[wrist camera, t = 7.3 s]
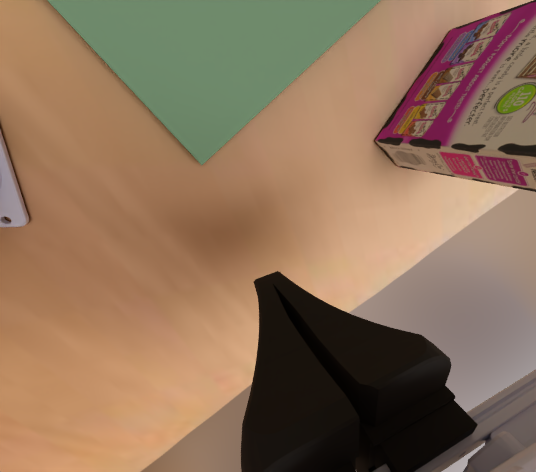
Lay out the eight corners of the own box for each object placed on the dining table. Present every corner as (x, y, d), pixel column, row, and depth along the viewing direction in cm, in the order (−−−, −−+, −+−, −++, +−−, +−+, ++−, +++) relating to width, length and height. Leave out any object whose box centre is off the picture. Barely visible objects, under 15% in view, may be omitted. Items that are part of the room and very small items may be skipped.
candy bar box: (397, 168, 24) (684, 226, 11) (371, 141, 22) (701, 169, 8) (471, 68, 22) (957, -28, 8) (451, 25, 20) (1091, -212, 6)
